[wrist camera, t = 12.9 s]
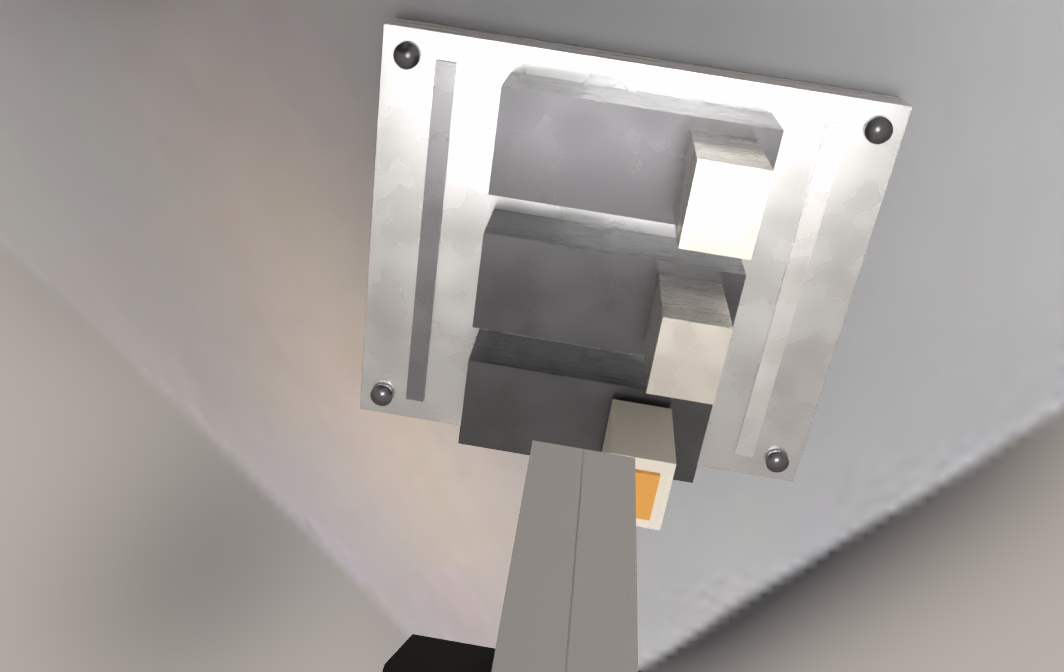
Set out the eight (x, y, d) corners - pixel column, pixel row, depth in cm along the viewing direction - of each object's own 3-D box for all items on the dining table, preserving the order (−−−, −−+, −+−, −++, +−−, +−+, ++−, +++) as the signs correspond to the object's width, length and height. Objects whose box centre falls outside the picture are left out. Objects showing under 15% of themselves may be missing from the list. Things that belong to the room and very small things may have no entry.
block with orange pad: (599, 460, 38) (596, 522, 34) (612, 398, 37) (610, 456, 33) (657, 470, 38) (660, 533, 34) (671, 408, 37) (676, 467, 33)
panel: (371, 387, 44) (312, 498, 36) (396, 17, 36) (329, 51, 28) (786, 457, 43) (822, 585, 35) (898, 96, 36) (976, 153, 28)
